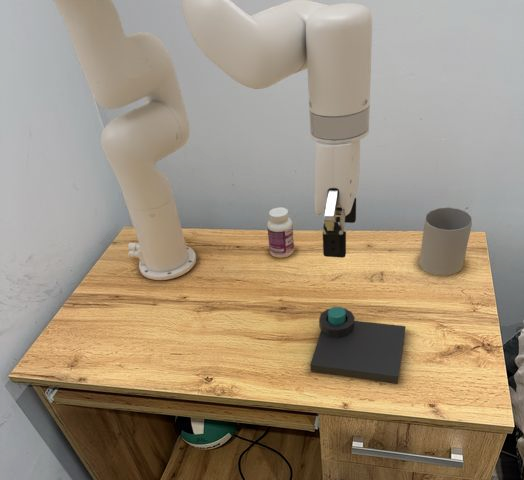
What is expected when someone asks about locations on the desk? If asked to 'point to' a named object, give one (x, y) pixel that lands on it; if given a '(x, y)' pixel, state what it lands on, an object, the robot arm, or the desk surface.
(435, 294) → the desk surface
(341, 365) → the scale
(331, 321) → the button
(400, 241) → the desk surface
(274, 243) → the pill bottle
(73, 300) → the desk surface
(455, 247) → the cup
